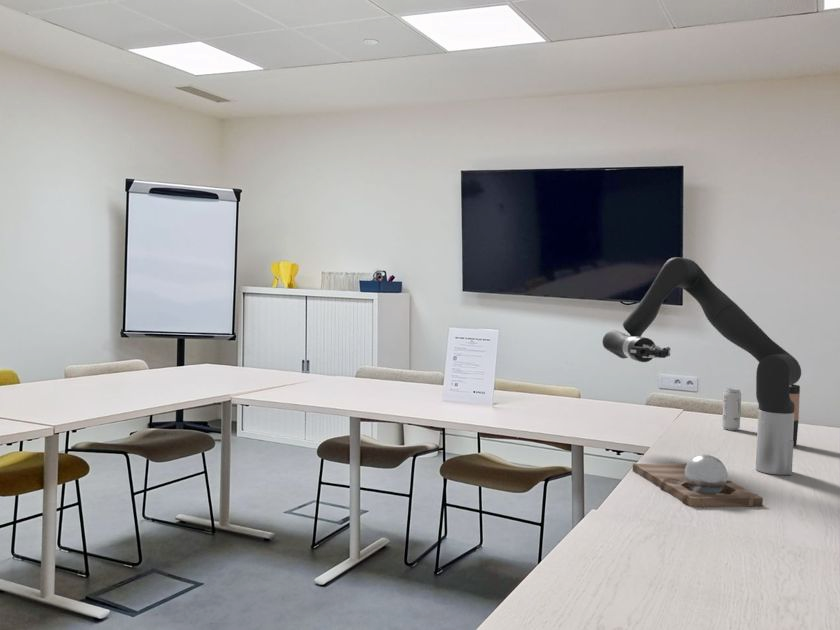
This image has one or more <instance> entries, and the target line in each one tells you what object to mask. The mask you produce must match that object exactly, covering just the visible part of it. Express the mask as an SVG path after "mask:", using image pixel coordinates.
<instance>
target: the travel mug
mask: <svg viewBox="0 0 840 630" xmlns="http://www.w3.org/2000/svg"><path fill="white" fill-rule="evenodd" d="M800 389H801V387H800V384H799V385H797V384H793V385H790V386H789V396H790V399H791V401H793V402H794V405H795V410H794V429H793V442H794V443H793V447H796V446H797V444H798V443H797V441H798V430H799V419H800V417H799V416H800V414H799V413H800V392H801V390H800Z"/></svg>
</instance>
